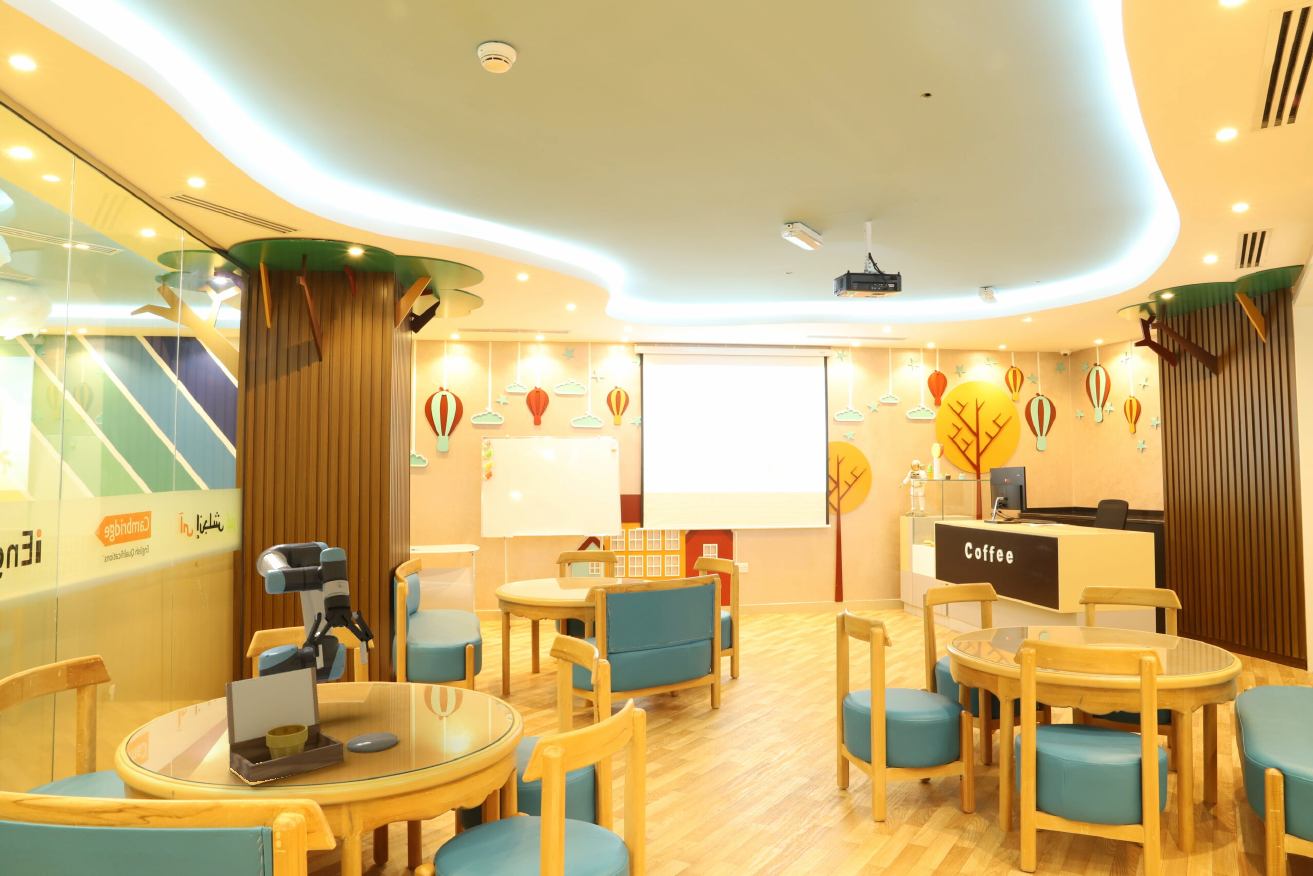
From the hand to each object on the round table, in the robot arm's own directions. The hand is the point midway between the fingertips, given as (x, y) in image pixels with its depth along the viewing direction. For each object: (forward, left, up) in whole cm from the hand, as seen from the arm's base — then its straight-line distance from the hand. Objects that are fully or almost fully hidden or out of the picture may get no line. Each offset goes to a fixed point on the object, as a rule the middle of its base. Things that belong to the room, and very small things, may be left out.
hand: (342, 666), depth 244 cm
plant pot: (+11, -20, -22) cm, 32 cm away
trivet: (+11, +4, -22) cm, 25 cm away
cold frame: (+11, -20, -22) cm, 31 cm away
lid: (+1, -20, -15) cm, 25 cm away
